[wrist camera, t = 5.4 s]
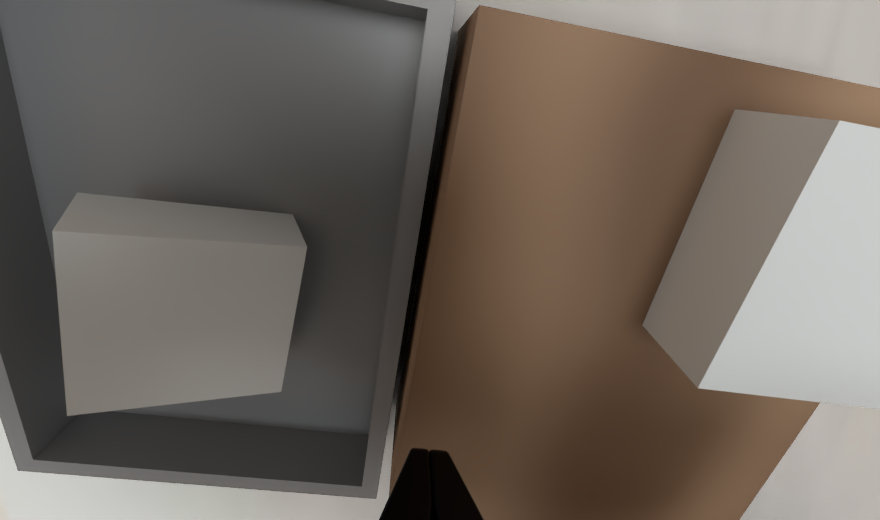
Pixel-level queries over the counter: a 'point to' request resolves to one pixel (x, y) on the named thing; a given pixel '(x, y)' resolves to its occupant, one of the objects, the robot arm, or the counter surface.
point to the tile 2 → (780, 265)
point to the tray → (232, 186)
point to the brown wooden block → (583, 276)
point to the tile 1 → (173, 301)
